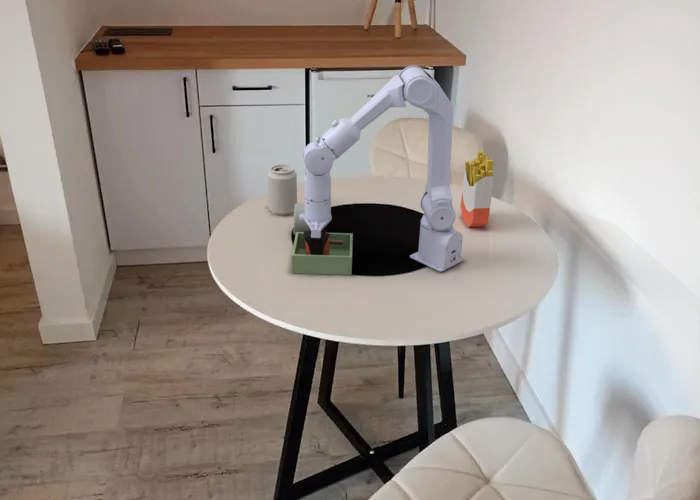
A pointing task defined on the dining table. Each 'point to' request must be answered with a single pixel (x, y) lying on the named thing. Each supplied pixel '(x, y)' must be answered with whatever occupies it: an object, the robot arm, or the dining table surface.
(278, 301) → the dining table surface
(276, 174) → the can
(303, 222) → the ceramic mug
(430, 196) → the robot arm
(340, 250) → the drawer
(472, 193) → the french fries container
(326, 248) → the pot
